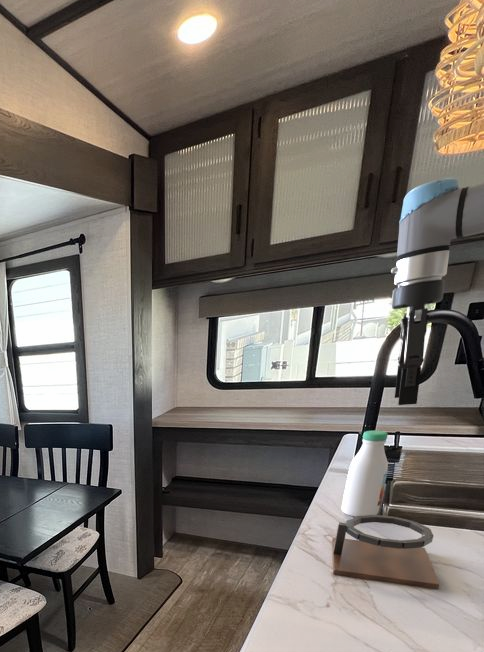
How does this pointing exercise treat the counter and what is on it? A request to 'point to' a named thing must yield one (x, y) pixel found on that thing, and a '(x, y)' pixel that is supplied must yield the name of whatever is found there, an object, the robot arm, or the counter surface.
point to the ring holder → (384, 554)
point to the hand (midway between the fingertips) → (404, 400)
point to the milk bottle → (366, 477)
